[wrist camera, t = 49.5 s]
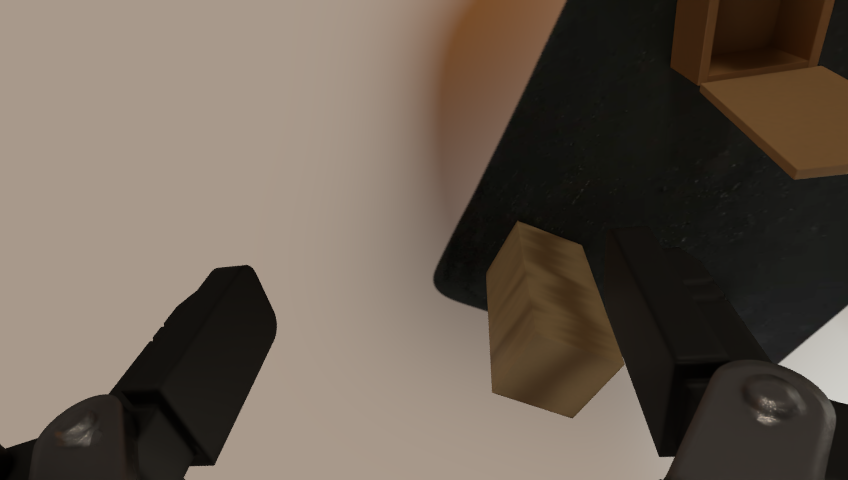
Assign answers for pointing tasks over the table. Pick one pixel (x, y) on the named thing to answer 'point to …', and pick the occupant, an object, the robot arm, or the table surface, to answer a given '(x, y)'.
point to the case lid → (790, 117)
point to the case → (747, 37)
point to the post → (547, 323)
